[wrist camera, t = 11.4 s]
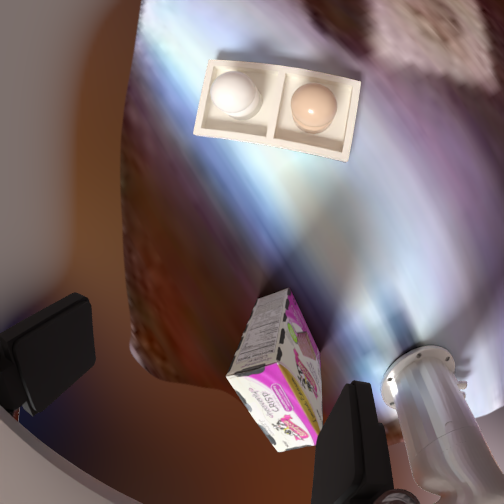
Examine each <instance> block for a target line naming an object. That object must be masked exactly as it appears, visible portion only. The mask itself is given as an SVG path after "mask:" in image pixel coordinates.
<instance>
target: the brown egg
mask: <svg viewBox="0 0 504 504" xmlns="http://www.w3.org/2000/svg"><path fill="white" fill-rule="evenodd" d="M291 111H292V117H293V121H294V123H295V124H296V126H297V127H298V128H299V129H300V130H302V131H303V132H306V133H309V134H318V133H321V132H323V131H325V130H326V129H328V127H329V126H330V125H331V123H332V121H333V119H334V117H335V115H336V112H337V101H336V98H335V96H334V94H333V93H332V91H331V90H330V89H328V88H327V87H325V86H324V85H321V84H318V83H308V84H304V85H302V86H300V87H299V88H298V89H296V91H295V92H294V93H293V95H292V98H291Z"/></svg>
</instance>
